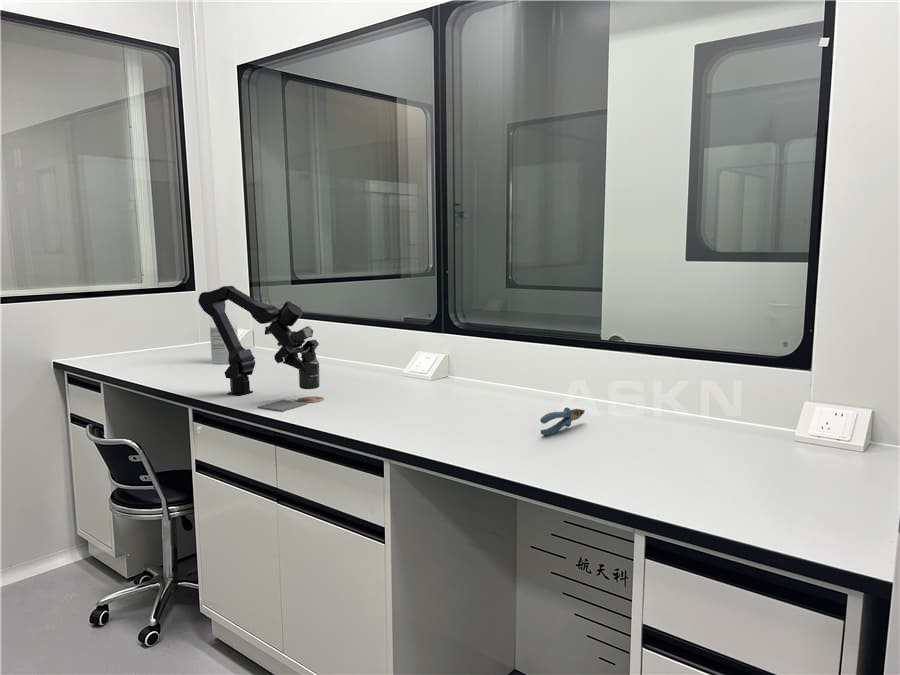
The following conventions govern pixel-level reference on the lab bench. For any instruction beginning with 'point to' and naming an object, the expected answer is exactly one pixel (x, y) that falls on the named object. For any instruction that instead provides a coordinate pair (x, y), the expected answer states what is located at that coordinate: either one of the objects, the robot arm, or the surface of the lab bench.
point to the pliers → (566, 421)
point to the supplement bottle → (309, 371)
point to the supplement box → (219, 346)
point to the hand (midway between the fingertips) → (312, 369)
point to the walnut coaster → (310, 399)
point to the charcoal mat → (282, 405)
